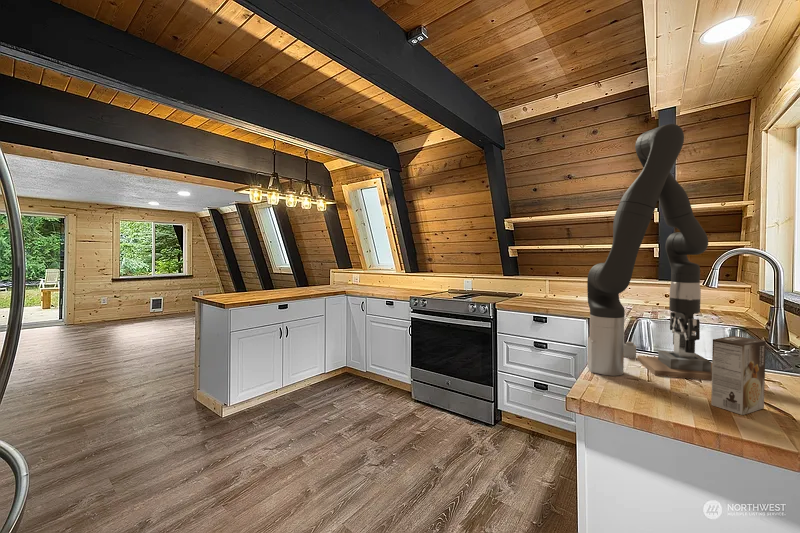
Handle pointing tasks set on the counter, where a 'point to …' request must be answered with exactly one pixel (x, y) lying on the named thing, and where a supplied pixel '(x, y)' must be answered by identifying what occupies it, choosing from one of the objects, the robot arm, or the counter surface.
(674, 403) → the counter surface
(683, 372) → the dock
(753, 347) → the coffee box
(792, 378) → the counter surface
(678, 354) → the key peg
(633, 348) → the grey rectangular block
